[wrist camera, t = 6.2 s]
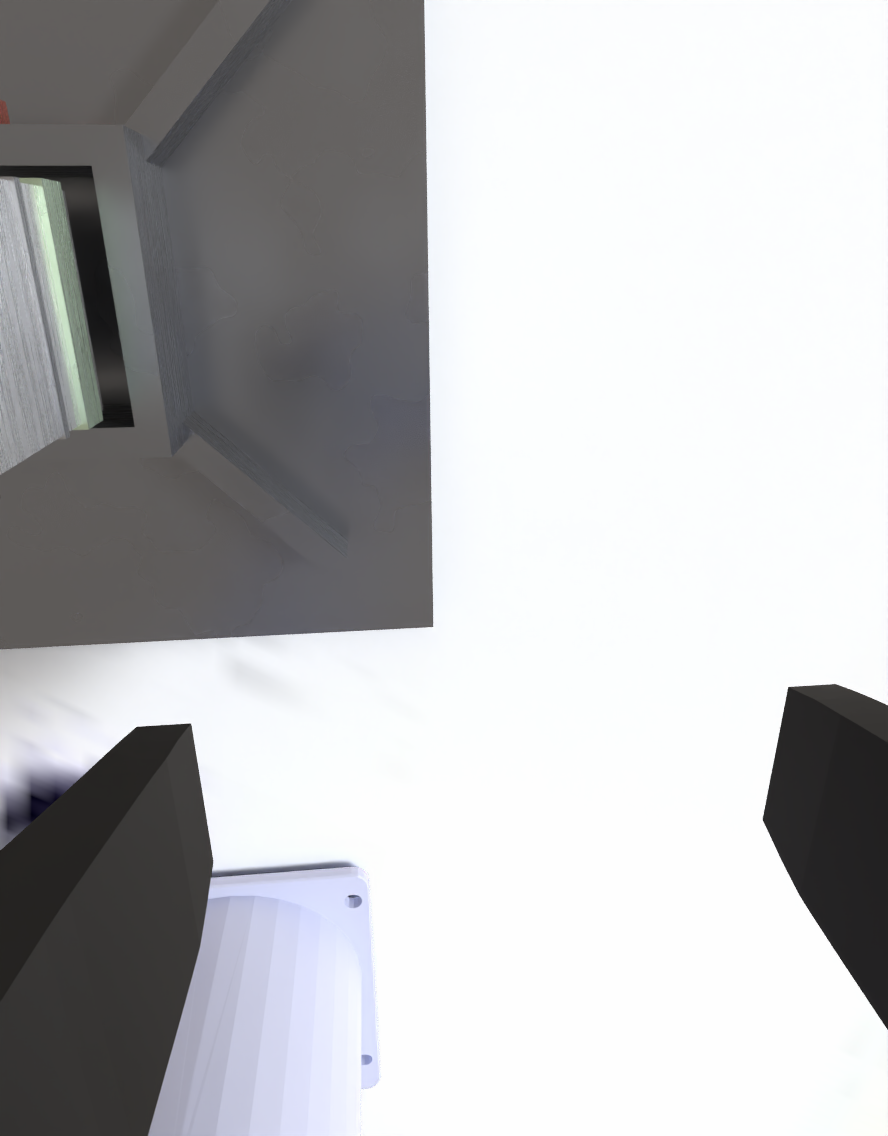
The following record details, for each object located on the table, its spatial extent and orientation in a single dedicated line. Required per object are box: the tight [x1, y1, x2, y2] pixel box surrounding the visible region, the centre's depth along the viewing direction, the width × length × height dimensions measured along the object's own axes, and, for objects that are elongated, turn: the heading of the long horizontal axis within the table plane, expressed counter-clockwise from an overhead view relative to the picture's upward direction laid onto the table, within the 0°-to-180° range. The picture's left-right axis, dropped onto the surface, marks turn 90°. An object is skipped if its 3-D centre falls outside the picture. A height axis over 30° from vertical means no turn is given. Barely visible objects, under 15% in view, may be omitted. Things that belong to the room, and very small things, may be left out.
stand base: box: [0, 0, 433, 649], centre depth 15 cm, size 16×16×3 cm
